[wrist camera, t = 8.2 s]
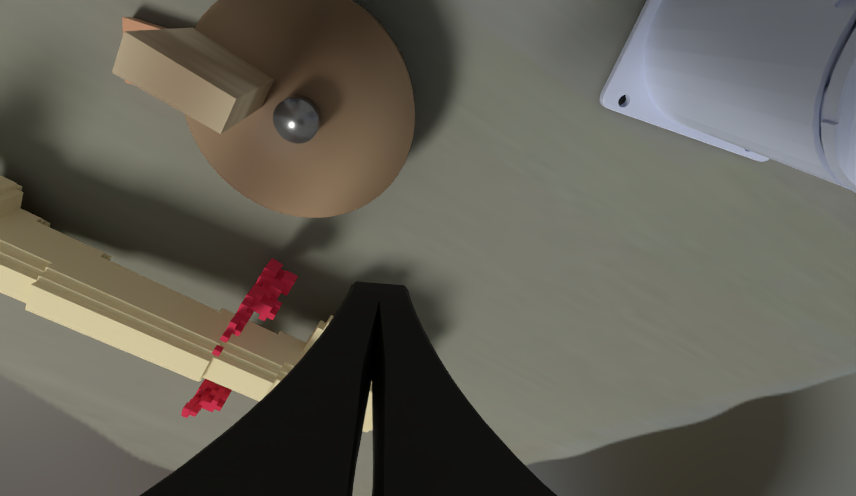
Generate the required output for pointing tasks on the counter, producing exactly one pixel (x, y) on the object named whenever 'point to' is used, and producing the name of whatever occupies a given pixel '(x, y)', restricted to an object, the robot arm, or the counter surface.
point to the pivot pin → (297, 119)
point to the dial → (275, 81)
